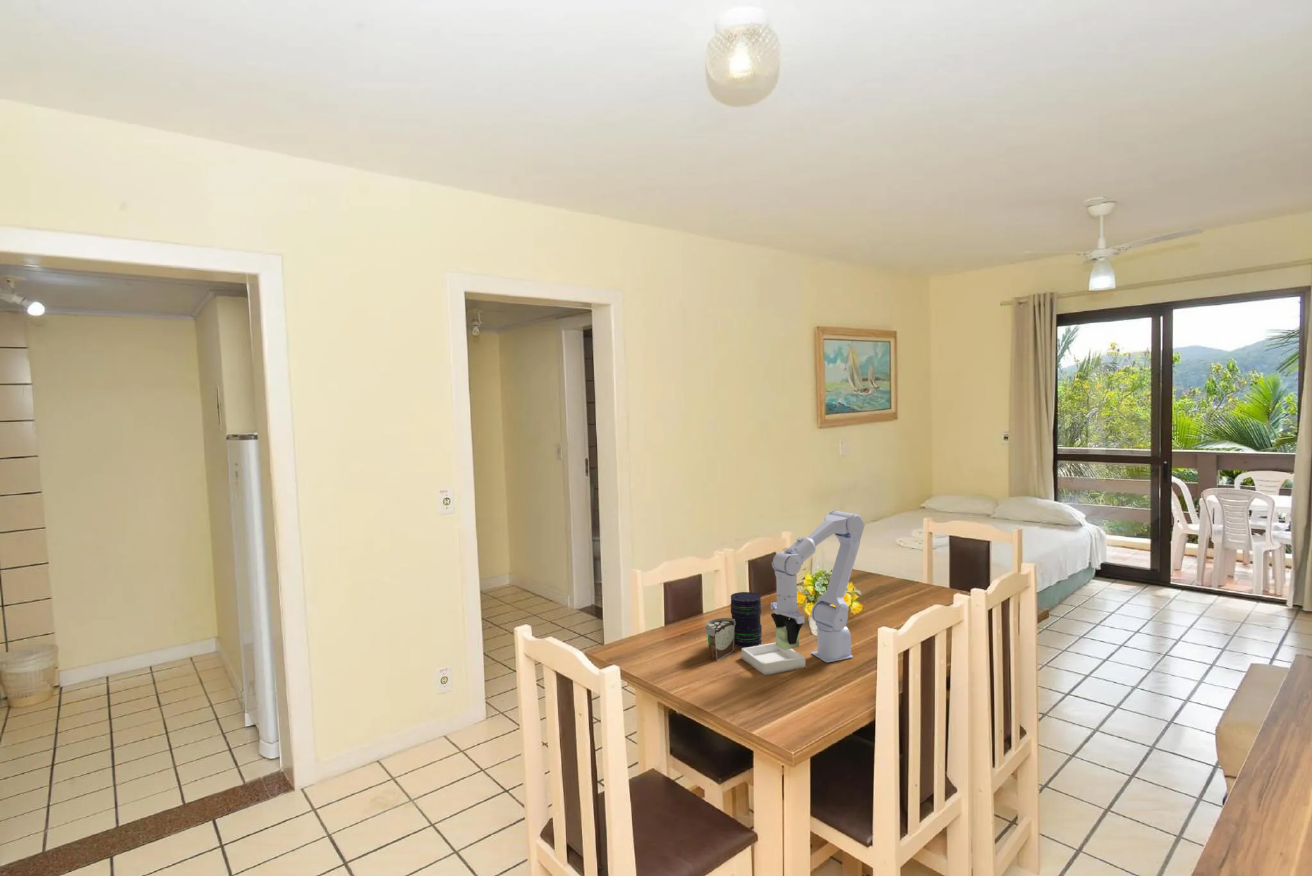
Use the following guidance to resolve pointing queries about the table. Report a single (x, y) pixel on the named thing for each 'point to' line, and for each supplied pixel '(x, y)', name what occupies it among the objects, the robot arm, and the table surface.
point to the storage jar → (746, 618)
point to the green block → (784, 639)
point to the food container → (720, 637)
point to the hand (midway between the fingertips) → (787, 640)
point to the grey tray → (772, 658)
